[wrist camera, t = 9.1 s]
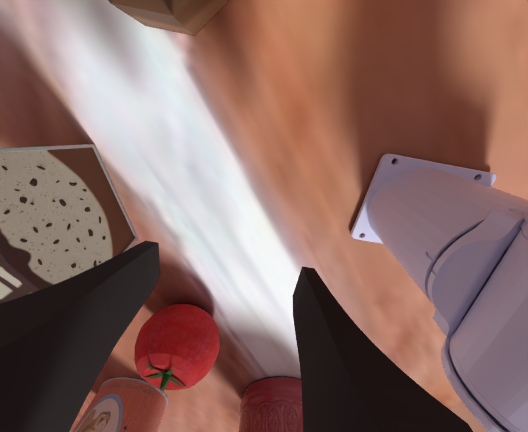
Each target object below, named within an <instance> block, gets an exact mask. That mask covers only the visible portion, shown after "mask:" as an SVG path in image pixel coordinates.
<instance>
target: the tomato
mask: <svg viewBox="0 0 528 432" xmlns="http://www.w3.org/2000/svg"><path fill="white" fill-rule="evenodd" d="M219 349H220V339H219V331H218V328H217V325H216V323H215V321H214V319H213V318H212V317H211V316H210V314H208V313H207V312H206V311H204V310H203V309H201V308H199V307H197V306H194V305H189V304H175V305H170V306H168V307H166V308H164V309H162V310H160V311H158V312H156V313H155V314H153V315H152V316H151V317H150V319H149V320H148V321H147V322H146V323H145V324H144V325H143V326H142V328H141V330H140V332H139V334H138V337H137V340H136V344H135V364H136V368H137V371H138V373H139V374H140V376H139V377H142V378H143V379H145V380H146V381H147V382H149V383H150V384H152V385H154V386H156V387H158V388H160V390H162V389H163V390H164V389H166V390H180V389H186V388H190V387H192V386H194V385H195V384H196V383H198V382H199V381H200V380H201V379H203V378H204V377H205V375H206V374H207V373H208V372H209V371H210V369H211V368H212V366H213V364H214V362H215V361H216V359H217V356H218V352H219ZM163 390H162V391H163Z"/></svg>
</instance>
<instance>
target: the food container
mask: <svg viewBox="0 0 528 432" xmlns="http://www.w3.org/2000/svg"><path fill="white" fill-rule="evenodd" d="M137 239H138V236H137V234H136V232H135V230H134V228H133V225H132V223H131V221H130V219H129V217H128V215H127V213H126V210H125V208H124V206H123V204H122V202H121V200H120V197H119V195H118V193H117V191H116V189H115V187H114V184H113V182H112V180H111V178H110V176H109V174H108V172H107V169H106V167H105V165H104V163H103V161H102V159H101V156H100V154H99V152H98V150H97V148H96V146H95V144H84V145H62V146H40V147H19V148H0V304H1V303H4V302H7V301H10V300H13V299H16V298H19V297H22V296H24V295H27V294H30V293H33V292H36V291H39V290H41V289H44V288H46V287H49V286H52V285H54V284H57V283H59V282H62V281H64V280H66V279H69V278H71V277H73V276H76V275H78V274H80V273H82V272H84V271H86V270H88V269H90V268H93V267H95V266H97V265H99V264H101V263H103V262H105V261H107V260H109V259H111V258H113V257H115V256H117V255H119V254H121V253H123V252H125V251H126V250H128V249H130V247H131V246H132V245H133V244H134V243H135V241H136V240H137Z"/></svg>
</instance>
